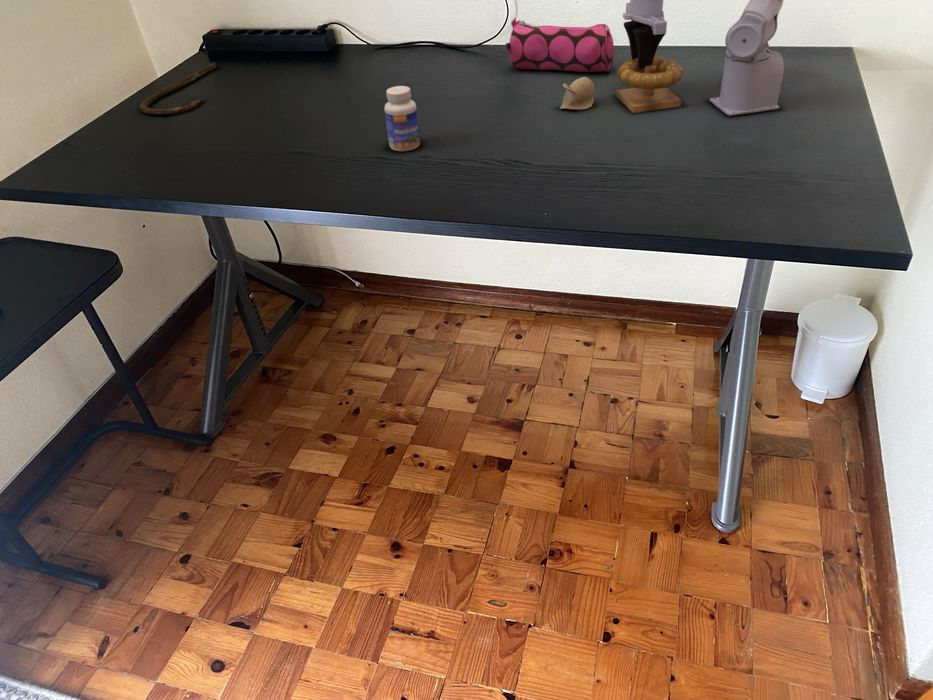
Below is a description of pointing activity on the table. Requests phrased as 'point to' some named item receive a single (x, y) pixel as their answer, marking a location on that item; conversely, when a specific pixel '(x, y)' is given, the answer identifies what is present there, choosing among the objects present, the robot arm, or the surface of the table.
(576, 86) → the decorative ornament
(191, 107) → the hook
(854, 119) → the table surface
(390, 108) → the pill bottle
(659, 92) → the stand
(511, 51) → the pencil case
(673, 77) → the ring
